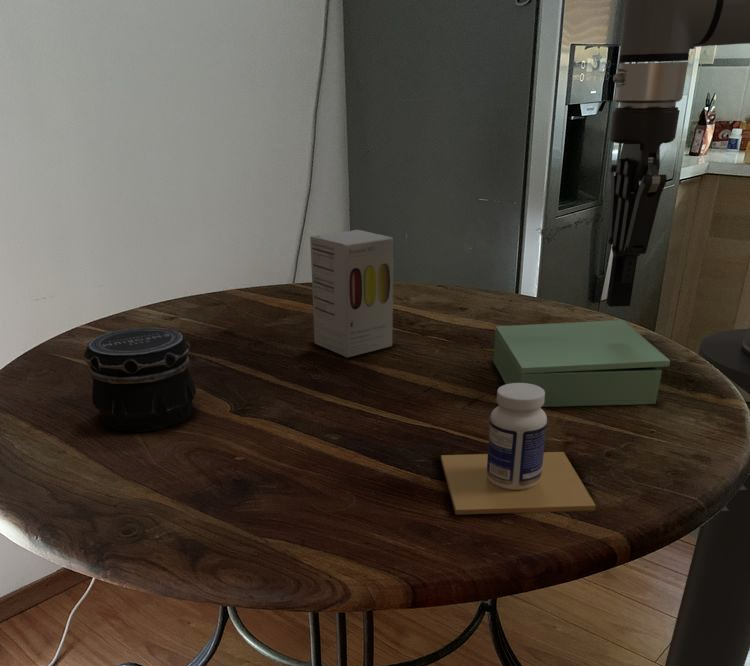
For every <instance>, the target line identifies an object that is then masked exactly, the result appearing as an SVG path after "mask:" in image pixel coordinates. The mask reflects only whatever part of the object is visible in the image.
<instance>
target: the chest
mask: <svg viewBox="0 0 750 666" xmlns="http://www.w3.org/2000/svg"><path fill="white" fill-rule="evenodd" d="M492 359H493V360H492V362H493V364H494V366H495V367H496V369H497V372H498V373H499V375H500V376H501V378H502V381H503V382H504V385H506V384H511V383H528V384H533V385H536V386H539V387H541V388H542V389H543V390H544V391H545V400H544V405H543V406H541V408H549V407H550V408H551V407H557V408H558V407H589V406H590V407H594V406H595V407H596V406H630V405H631V406H632V405H656V403H657V399H658V393H659V388H660V383H661V378H662V373H663V370H662V369H661V367H644V368H624V369H605V370H585V371H565V372H545V373H525V374H522V373H521V372H520V370H519V369H518V367H517V365H516V364H515V362H514V361H513V359H512V357H511V356H510V354H509V352H508V351H507V349H506V348H505V346H504V344H503V343H502V341H501V339H500V338H499V336H498V335H497V333H496V331H495V332H494V345H493V357H492Z"/></svg>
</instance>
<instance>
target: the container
mask: <svg viewBox="0 0 750 666" xmlns="http://www.w3.org/2000/svg"><path fill="white" fill-rule="evenodd" d="M190 349H191V345H190V342H189V341H188V340H187V339H185V337H184V336H183V334H182V333H181V332H179V331H175V330H173V329H168V328H165V327H152V326H151V327H135V328H125V329H120V330H115V331H110V332H107V333H104V334H101V335H98V336H96V337H94V338H93V339H91V340H90V341H89V342H88V343H87V347H86V349H85V351H84V353H83V360H84V362H85V363H87V364H88V365H89V366H88V373H89V375H90V376H91V380H92V392H91V393H92V394H91V395H92V396H91V403H92V404H93V406H95V408H96V410H98V411H99V414H100V415H101V417H102V421H103V423H104V425H106V426H107V427H108V428H110V429H112V430H116V431H122V432H139V433H140V432H141V433H142V432H151V431H157V430H162V429H165V428H167V427H170V426H175V425H177V424H180V423H182V422H184V421H185V420H187V419H188V418H189V417H190V416H191V415H192V414H193V407H194V406H193V400H194V398H195V396H196V394H197V387H196V384H195V382H194V380H193V377H192V375H191V372H190V370H189V366H190V362H191V361H190V358H189V355H188V354H189V352H190Z"/></svg>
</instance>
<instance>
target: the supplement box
mask: <svg viewBox="0 0 750 666" xmlns="http://www.w3.org/2000/svg"><path fill="white" fill-rule="evenodd" d="M309 239H310V241H309V243H310V265H311V267H310V268H311V287H312V312H313V313H312V315H313V335H314V337H313V338H314V339H313V340H314V344H315V345H317V346H320V347H321V348H323V349H326V350H329V351H331V352H333V353H335V354H338V355H340V356H342V357H345V358H351V357H355V356H360V355H364V354H367V353H371V352H375V351H379V350H382V349H386V348H391V347H393V330H394V329H393V328H394V327H393V325H394V324H393V323H394V322H393V321H394V320H393V319H394V317H393V315H394V245H395V243H394V237H391V236H388V235H383V234H379V233H375V232H374V233H373V232H370V231H367V230H362V229H353V230H348V231H340V232H333V233H326V234H319V235H311V236H310V237H309Z"/></svg>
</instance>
